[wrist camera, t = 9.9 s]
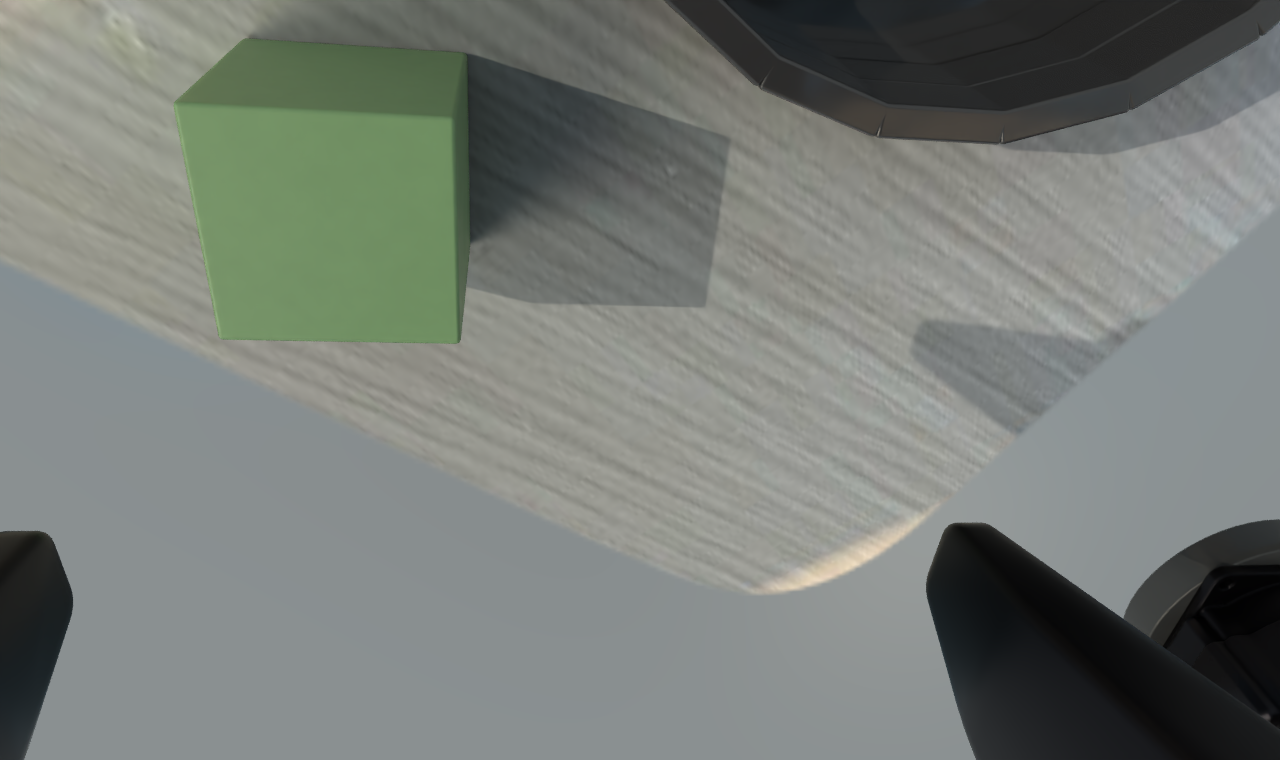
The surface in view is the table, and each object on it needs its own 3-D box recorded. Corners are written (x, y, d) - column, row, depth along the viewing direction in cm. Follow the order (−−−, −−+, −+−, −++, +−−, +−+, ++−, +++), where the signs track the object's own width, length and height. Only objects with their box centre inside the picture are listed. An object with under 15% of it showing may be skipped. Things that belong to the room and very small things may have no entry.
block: (467, 52, 17) (455, 117, 13) (470, 247, 19) (460, 345, 15) (242, 37, 16) (170, 101, 13) (271, 240, 18) (217, 340, 15)
